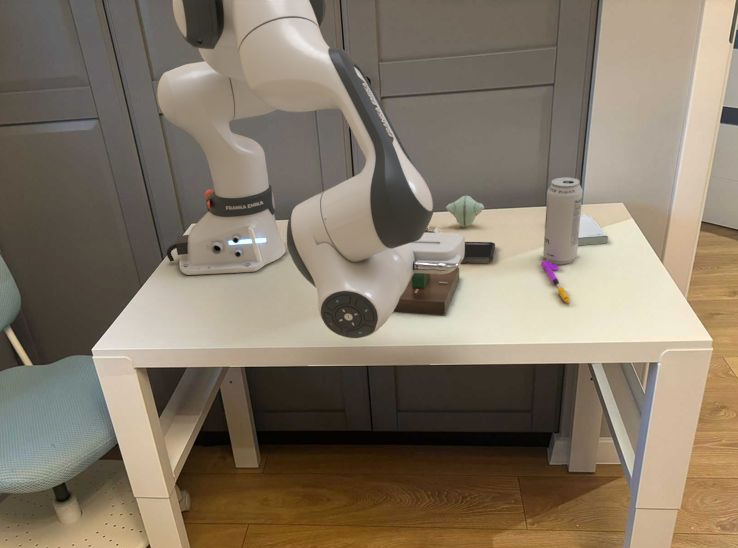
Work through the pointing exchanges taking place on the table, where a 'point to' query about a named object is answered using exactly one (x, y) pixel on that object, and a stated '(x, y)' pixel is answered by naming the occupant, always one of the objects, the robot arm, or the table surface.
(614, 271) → the table surface
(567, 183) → the energy drink can
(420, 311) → the dial panel
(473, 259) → the phone
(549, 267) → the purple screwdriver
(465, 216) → the mint green lobed ornament
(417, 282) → the green tall block
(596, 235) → the hard drive
